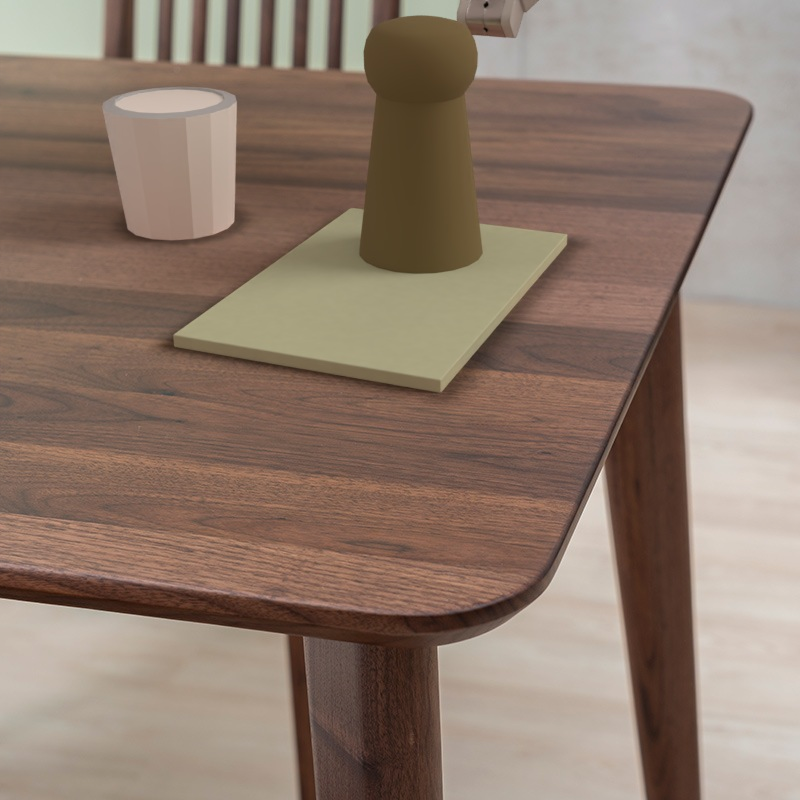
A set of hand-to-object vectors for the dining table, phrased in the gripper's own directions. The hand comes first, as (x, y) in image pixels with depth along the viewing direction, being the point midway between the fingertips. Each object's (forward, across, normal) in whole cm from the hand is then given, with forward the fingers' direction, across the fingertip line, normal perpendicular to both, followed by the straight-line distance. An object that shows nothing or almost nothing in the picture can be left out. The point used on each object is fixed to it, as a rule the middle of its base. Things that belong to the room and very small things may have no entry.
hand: (485, 30), depth 64 cm
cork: (+13, 0, 0) cm, 13 cm away
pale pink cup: (+13, -14, +2) cm, 19 cm away
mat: (+16, 0, -2) cm, 16 cm away
